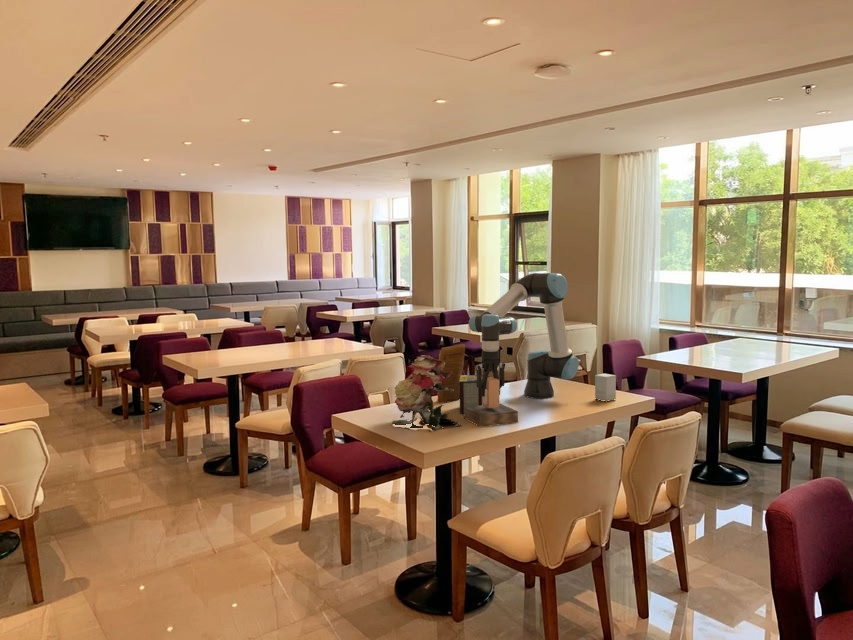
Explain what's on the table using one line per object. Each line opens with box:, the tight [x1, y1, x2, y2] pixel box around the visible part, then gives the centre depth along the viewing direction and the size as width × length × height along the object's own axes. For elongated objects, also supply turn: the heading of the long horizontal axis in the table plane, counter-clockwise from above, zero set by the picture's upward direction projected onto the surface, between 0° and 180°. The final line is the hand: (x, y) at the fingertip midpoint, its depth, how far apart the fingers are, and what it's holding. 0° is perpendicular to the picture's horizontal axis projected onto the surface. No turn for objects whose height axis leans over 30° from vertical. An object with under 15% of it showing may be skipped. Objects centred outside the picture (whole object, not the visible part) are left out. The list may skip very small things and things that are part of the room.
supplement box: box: [594, 373, 617, 401], centre depth 312 cm, size 7×7×13 cm
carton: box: [482, 376, 500, 408], centre depth 274 cm, size 7×5×12 cm
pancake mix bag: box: [436, 343, 466, 403], centre depth 315 cm, size 7×19×28 cm, turn 129°
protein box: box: [459, 374, 482, 415], centre depth 293 cm, size 10×15×16 cm
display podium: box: [463, 403, 519, 427], centre depth 275 cm, size 18×16×5 cm
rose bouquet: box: [391, 354, 462, 431], centre depth 268 cm, size 26×29×30 cm
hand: (490, 402), depth 274 cm, fingers closed on carton, 5 cm apart
